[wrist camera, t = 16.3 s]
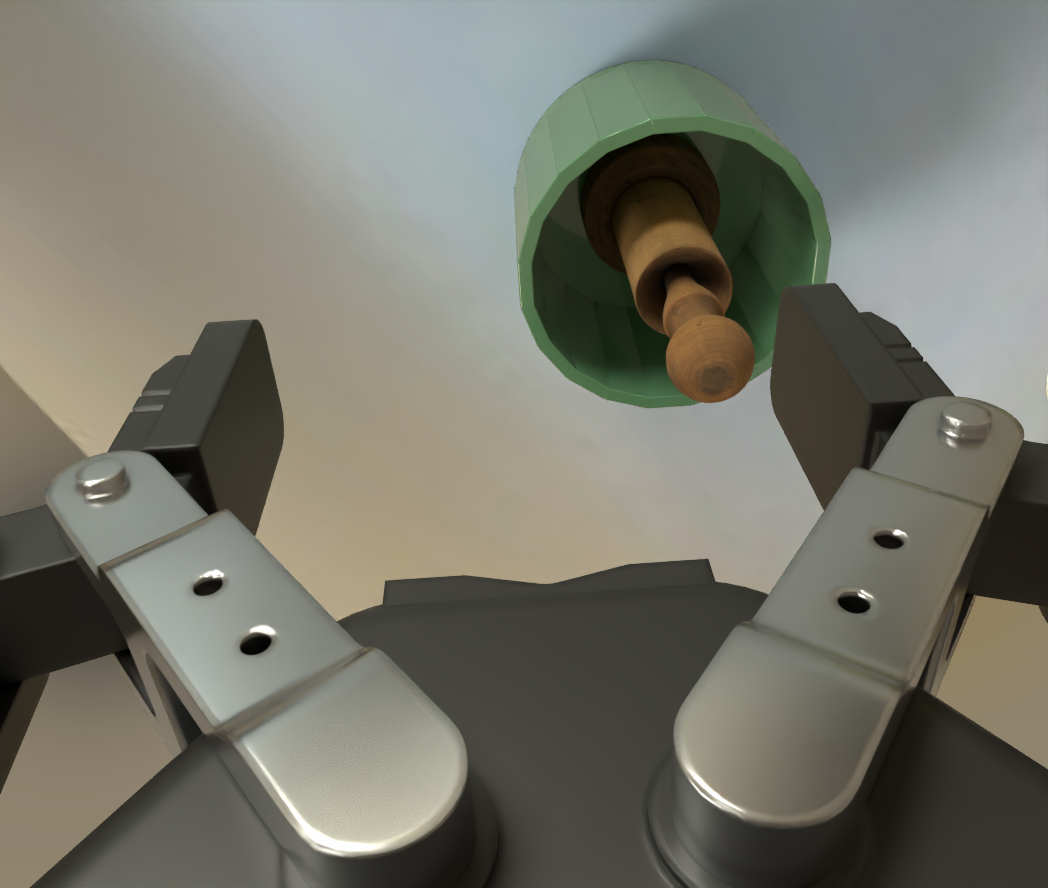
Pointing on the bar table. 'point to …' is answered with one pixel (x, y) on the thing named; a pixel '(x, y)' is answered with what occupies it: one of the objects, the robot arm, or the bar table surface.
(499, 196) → the bar table surface
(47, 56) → the bar table surface
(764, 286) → the cup
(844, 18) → the bar table surface
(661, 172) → the brown knobbed turned figurine
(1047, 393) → the bottle
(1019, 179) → the bar table surface
